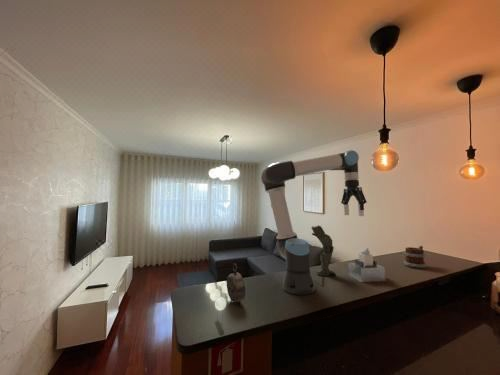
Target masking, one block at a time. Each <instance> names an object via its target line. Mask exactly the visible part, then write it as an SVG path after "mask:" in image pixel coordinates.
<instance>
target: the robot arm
mask: <svg viewBox="0 0 500 375" xmlns="http://www.w3.org/2000/svg"><path fill="white" fill-rule="evenodd" d="M359 158H360V157H359V154H358V152H357V151H355V150H352V149H351V150H347V151H345V152H342V153H335V154H331V155H324V156H319V157H315V158H310V159H304V160H299V161H292V160H287V161H281V162H273V163H271V164H269V165H267V167H266V168H264V170H263V171H262V172H261V182H262V184H263V185H264V186H263V187H264V189H265V190H264V191H265V192H266V193H268V195H269V199H270V200H269V201H270V203H271V209H272V213H273V217H274V222H275V226H276V230H277V235H276V237H275V238H276V242H277V244H276V250H277V251H278V254H279V256H281V257H282V258H283V259H284V260H285V275H284V278H283V281H282V289H283V291H284V292H287V293H288V294H293V295H298V296H299V295H300V296H306V295H310V294H312V293H315V284H314V281H313V278H312V275H311V259H310V258H311V256H310V254H311V253H310V245H309V242H308V241H307V240H306V239H301V238H298V235H297V233H296V232H295V231H294V230H293V226H292V222H291V217H290V212H289V208H288V205H287V204H288V202H287V201H286V197H285V196H286V195H285V192H284V190H285V188H286V184H285V182H286V181H290V180H294V179H296V177H299V176H304V175H308V174H309V175H311V174H315V173H319V172H325V171H330V172H331V171H344V172H343V174H344V180H345V181H344V184H345V185H344V187H346V188H343V195H342V199H341V202H340V203H341V204H342V205H343V211H344V212H343V213H344V216H350V209H349V208H350V207H349V206H350V205H349V202H350V200H351V197H352V196H353V197H354V198H355V199H356V201H357V208H358V209H357V210H358V211H357V212H358V217H365V211H364V210H365V207H364V206H365V204H367V203H368V201H367V199H366V197H365V195H364V192H363V187H362V186H360V180H359V177H360V176H359Z"/></svg>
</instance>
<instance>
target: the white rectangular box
mask: <svg viewBox="0 0 500 375" xmlns="http://www.w3.org/2000/svg"><path fill="white" fill-rule="evenodd" d="M347 263H348V264H347V265H348V276H349V277H351V278H353V279H355V280H357V281H359V282H360V283H370V282H373V283H374V282H384V281H386V270H385V267H384V266H382V265H379V264H378V263H377V261H376V260H374V259H373V265H368V266H364V264H363V262H361V261H359V259H354V262H347Z"/></svg>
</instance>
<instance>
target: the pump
mask: <svg viewBox="0 0 500 375" xmlns="http://www.w3.org/2000/svg"><path fill="white" fill-rule="evenodd" d="M357 254H358V260H359V261H361V262H363V264H364V266H368V265H373V260H374V257H373V254H370V250H369V248H368V247H366V248H365V249H361V250H360V253H357Z"/></svg>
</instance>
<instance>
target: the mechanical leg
mask: <svg viewBox="0 0 500 375" xmlns="http://www.w3.org/2000/svg"><path fill="white" fill-rule="evenodd" d="M311 230H312V233H311V235H312V236H315V237H316V238H317V239H318V240H319V243H321V245H322V251H321V252H320V253H319V259H320V262H321V264H320V266H319V268H317V269H315V274H316V275H317V277H318V276H320V277H321V276H324V277H326V276H328V277H337V274H336V272H334V270H330V269H329V268H330V267H329V266H330V265H331V261H332V256H333V252H334V249H335V248H334V246H333V238H331V236H330V235H329V234H327V233H326V232H325V231H324V229H323V227H322V226H321V225H315V226H314V225H313V226H311Z"/></svg>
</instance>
